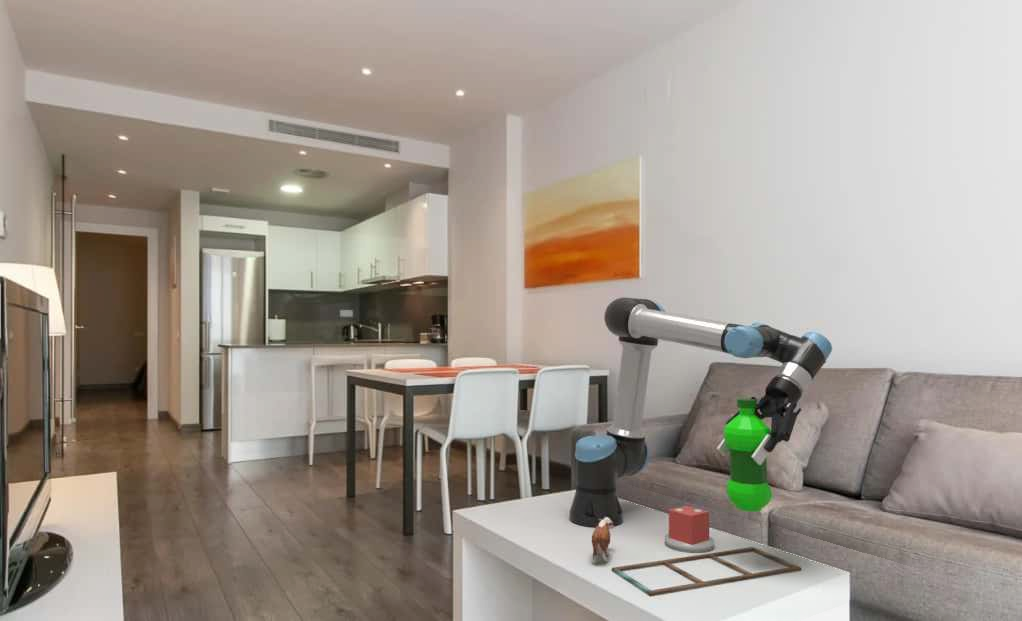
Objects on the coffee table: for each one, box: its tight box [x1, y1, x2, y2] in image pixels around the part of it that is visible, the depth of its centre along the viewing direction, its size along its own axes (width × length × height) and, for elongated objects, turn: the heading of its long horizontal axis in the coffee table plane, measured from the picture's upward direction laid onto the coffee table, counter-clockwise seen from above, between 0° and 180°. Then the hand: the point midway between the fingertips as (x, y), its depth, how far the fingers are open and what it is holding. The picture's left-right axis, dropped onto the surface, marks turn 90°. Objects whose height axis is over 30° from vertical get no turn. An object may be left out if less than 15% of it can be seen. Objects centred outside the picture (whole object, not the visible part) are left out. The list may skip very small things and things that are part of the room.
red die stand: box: [664, 505, 715, 554], centre depth 156 cm, size 12×12×9 cm
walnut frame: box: [611, 546, 802, 597], centre depth 138 cm, size 15×40×1 cm, turn 111°
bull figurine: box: [591, 517, 614, 565], centre depth 147 cm, size 4×13×8 cm, turn 161°
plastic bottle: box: [723, 398, 773, 513], centre depth 143 cm, size 10×10×25 cm
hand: (737, 456), depth 142 cm, fingers closed on plastic bottle, 10 cm apart
